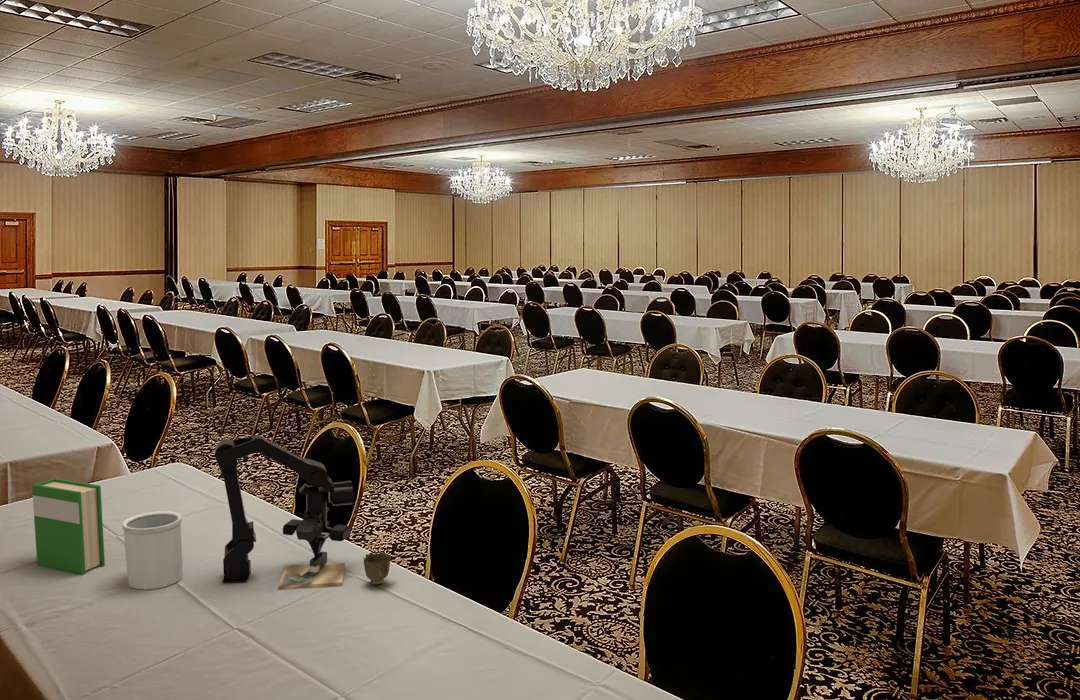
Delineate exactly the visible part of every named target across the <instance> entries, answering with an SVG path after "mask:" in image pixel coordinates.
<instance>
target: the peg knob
mask: <svg viewBox="0 0 1080 700" xmlns="http://www.w3.org/2000/svg"><path fill="white" fill-rule="evenodd" d="M325 564H328V552H327V551H322V550H321V551H320V553H319V554H317V555H316V556H314V557H312V558H311V559H309V564H306V565H307V566H306V569H305V570H303V571H302V572H301V573H300V575H301V576H302V575H304V574H305V573H307V574H309V575H314V574H318V573H319V569H320V568H321V567H322V566H324V565H325Z"/></svg>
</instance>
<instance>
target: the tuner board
mask: <svg viewBox="0 0 1080 700" xmlns="http://www.w3.org/2000/svg"><path fill="white" fill-rule="evenodd" d="M307 565H308V564H294V565H290V564H289V565H284V567H283V571H282V573H281V577H280V580H279V583H278V585H277V586H278V590H287V589H289V590H290V589H291V590H292V589H307V588H311V589H312V588H326V587H329V588H330V587H343V582H344V576H345V570H346V569H345V568H346V562H333V563H326V564H325V565H324V566H322V567H321V568H320V569H319V573H318V574H314V575H309V574H307V573H305V574H304V575H302V576H301V575H300V573H301V572H302V571H303V570H305V569H306V566H307Z"/></svg>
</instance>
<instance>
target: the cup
mask: <svg viewBox="0 0 1080 700" xmlns="http://www.w3.org/2000/svg"><path fill="white" fill-rule="evenodd" d="M362 559H363V565H364V572H365V575H366V577H367V578H368V579H369V580H370V584H371V585H372V586H375V587H379V586H382V585H383V584H384V582H385V579H386V578H387V577H388V574H389V571H390V566H391V560H392V559H391V554H389V553H387V554H386V553H385V552H382V551H380V552H379V553H378V552H377V551H376V552H375V553H374V552H370V553H366V554H365V557H364V556H363V558H362Z"/></svg>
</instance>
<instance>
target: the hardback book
mask: <svg viewBox="0 0 1080 700" xmlns="http://www.w3.org/2000/svg"><path fill="white" fill-rule="evenodd" d="M31 489H32V491H31V492H32V503H33V504H32V505H33V507H32V509H33V521H34V523H33V524H34V536H35V538H34V539H35V552H36V563H37V564H36V566H37V567H43V568H47V569H52V570H56V571H60V572H66V573H69V574H75V575H81V576H84V575H86V573H87V572H86V571H88V570H91V569H93V568H95V567H101V568H103V567H105V566H106V562H105V561H106V560H105V546H104V545H105V544H104V526H103V509H102V508H103V507H102V491H101V490H102V488H101V485H99V484H94V483H93V484H92V483H86V482H82V481H81V482H80V481H74V480H70V479H69V480H68V479H64V478H63V479H62V478H56V477H55V478H51V479H48V480H45V481H40V482H38V483H35V484H32V485H31Z"/></svg>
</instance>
